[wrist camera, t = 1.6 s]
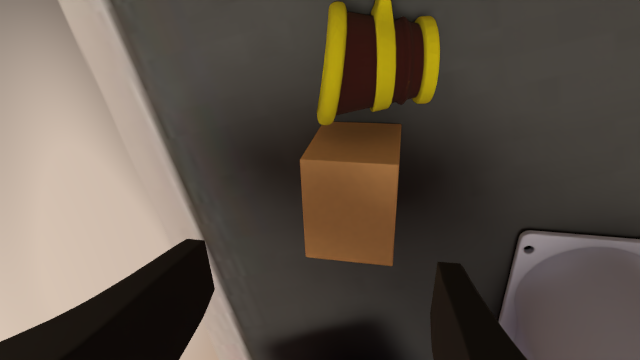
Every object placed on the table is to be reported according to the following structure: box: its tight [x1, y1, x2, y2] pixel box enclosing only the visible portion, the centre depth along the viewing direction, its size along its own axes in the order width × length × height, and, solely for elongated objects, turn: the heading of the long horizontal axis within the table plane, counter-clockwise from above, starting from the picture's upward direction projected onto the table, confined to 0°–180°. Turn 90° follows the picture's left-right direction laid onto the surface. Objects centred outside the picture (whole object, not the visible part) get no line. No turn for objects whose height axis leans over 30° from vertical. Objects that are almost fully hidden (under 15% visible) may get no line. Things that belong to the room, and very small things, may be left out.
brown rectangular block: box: [300, 122, 402, 266], centre depth 19 cm, size 5×4×5 cm
